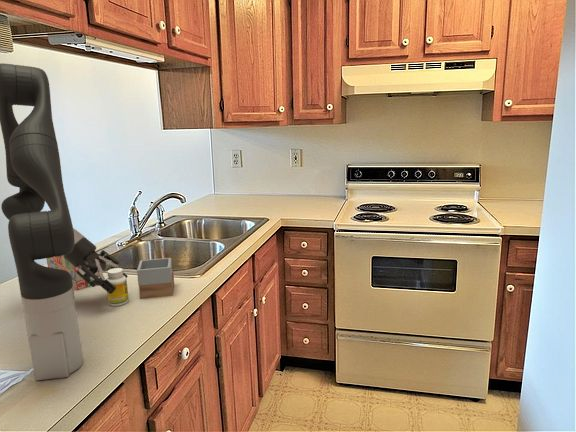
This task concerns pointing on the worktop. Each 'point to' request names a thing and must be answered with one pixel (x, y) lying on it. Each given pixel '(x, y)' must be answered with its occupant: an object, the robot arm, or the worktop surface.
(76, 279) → the stack of blocks
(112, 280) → the supplement bottle
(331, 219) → the worktop surface
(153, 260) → the tower top
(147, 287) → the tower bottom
